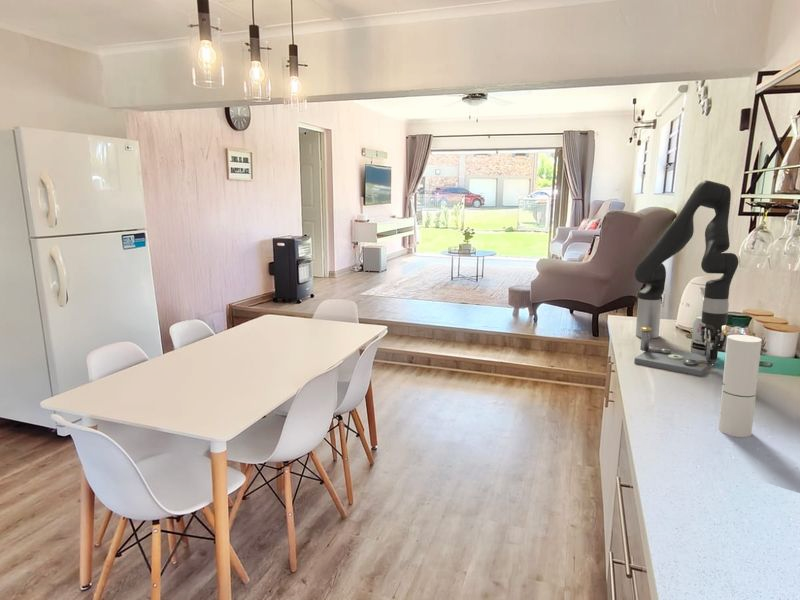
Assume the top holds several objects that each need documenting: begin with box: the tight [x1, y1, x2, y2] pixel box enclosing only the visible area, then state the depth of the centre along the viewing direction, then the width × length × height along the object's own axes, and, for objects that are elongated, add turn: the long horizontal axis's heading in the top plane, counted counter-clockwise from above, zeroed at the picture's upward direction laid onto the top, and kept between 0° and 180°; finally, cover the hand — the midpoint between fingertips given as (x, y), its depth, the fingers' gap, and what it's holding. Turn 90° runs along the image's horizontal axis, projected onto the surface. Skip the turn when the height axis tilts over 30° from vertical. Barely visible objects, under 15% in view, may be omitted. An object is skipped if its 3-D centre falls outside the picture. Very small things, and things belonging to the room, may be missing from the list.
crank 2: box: [683, 338, 717, 366], centre depth 174 cm, size 11×4×9 cm, turn 85°
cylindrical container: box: [718, 334, 763, 438], centre depth 126 cm, size 7×7×25 cm
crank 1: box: [639, 327, 671, 354], centre depth 189 cm, size 11×4×9 cm, turn 66°
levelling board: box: [633, 346, 713, 377], centre depth 183 cm, size 20×22×2 cm
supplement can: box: [690, 315, 706, 355], centre depth 189 cm, size 8×8×15 cm
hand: (710, 357), depth 174 cm, fingers closed on crank 2, 3 cm apart
